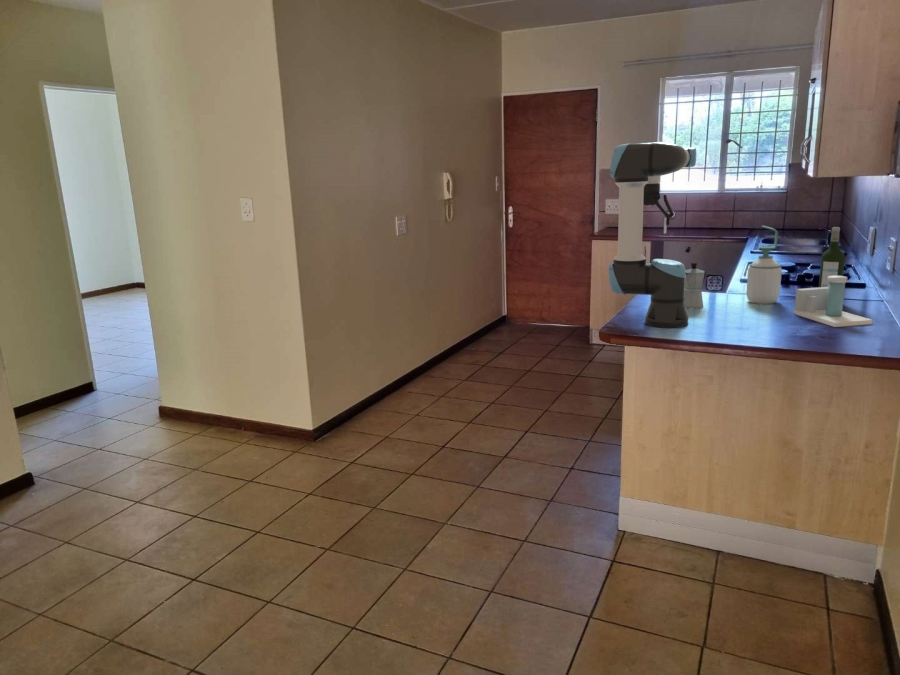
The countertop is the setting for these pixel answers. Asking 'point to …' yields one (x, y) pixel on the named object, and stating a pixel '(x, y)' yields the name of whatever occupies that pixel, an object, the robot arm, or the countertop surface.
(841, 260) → the wine bottle
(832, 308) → the teal jar
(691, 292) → the coffee maker
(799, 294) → the mount
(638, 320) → the countertop surface
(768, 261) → the soap bottle
